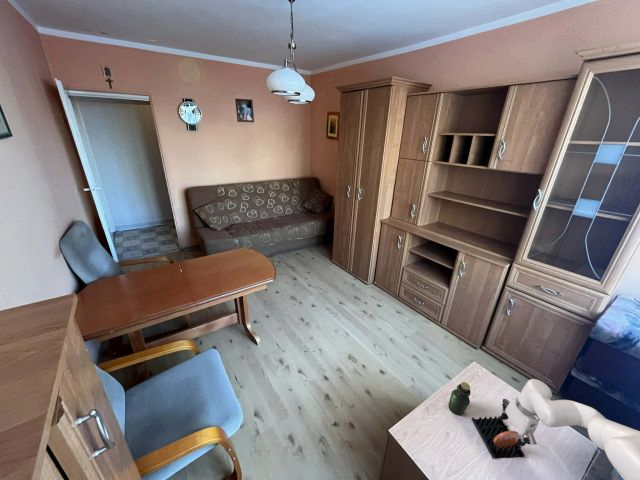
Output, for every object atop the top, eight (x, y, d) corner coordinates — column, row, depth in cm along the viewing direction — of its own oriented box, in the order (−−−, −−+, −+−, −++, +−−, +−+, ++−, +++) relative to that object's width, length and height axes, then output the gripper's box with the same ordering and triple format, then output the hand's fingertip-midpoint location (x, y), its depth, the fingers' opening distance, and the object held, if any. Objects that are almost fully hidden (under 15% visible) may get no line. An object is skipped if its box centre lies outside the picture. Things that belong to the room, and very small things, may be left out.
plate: (514, 448, 115) (525, 432, 110) (490, 449, 114) (500, 433, 109) (513, 445, 116) (523, 430, 111) (489, 446, 115) (498, 431, 110)
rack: (523, 458, 112) (528, 451, 110) (492, 459, 111) (496, 452, 109) (498, 419, 127) (502, 412, 124) (470, 419, 126) (474, 413, 123)
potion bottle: (445, 412, 128) (455, 388, 120) (447, 398, 135) (456, 374, 127) (463, 421, 125) (475, 397, 117) (464, 406, 131) (475, 383, 123)
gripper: (555, 430, 95) (535, 455, 103) (520, 385, 110) (505, 409, 118) (535, 431, 95) (517, 456, 102) (503, 385, 110) (489, 410, 118)
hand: (511, 431), depth 110 cm, fingers open, 9 cm apart
